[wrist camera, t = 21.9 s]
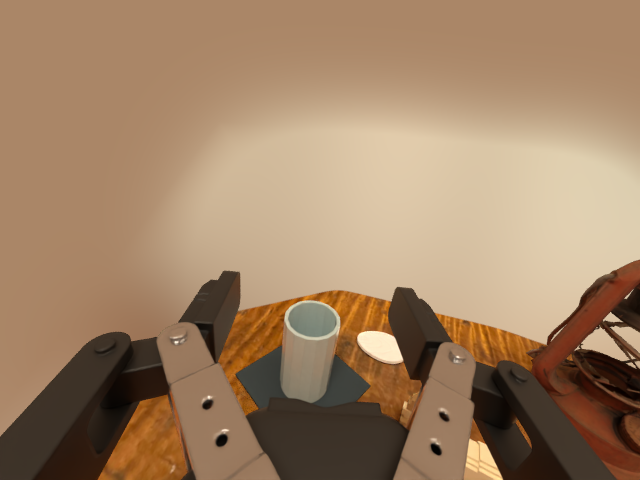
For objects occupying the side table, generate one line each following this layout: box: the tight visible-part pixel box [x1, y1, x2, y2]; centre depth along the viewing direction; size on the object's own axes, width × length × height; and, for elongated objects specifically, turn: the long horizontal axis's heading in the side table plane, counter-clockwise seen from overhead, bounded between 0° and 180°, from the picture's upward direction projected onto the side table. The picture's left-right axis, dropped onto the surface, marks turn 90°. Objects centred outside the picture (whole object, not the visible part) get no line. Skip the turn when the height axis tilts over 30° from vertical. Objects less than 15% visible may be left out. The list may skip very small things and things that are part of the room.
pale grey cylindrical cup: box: [280, 300, 340, 403], centre depth 30 cm, size 6×6×10 cm
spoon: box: [357, 331, 403, 364], centre depth 37 cm, size 5×18×1 cm, turn 71°
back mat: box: [236, 345, 370, 409], centre depth 32 cm, size 12×12×1 cm
